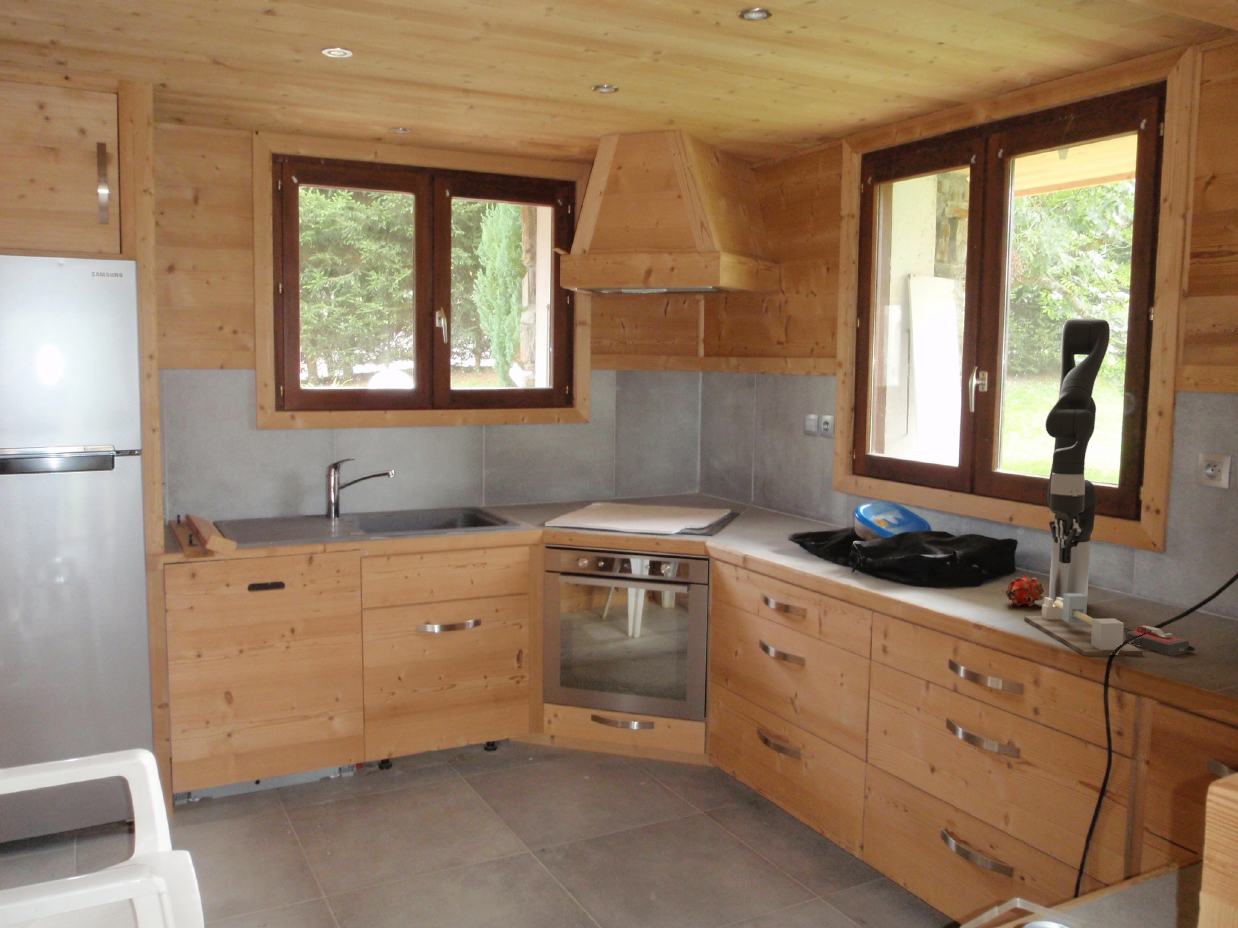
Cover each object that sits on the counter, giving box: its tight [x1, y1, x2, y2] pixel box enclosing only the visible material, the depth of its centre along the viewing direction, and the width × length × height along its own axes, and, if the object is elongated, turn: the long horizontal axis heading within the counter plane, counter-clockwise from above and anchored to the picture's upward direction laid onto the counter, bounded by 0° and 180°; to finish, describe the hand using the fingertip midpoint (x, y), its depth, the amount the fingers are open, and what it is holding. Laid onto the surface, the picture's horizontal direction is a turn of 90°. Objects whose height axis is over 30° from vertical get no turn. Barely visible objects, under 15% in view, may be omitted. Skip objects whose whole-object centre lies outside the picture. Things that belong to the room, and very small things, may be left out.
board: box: [1023, 615, 1144, 657], centre depth 233 cm, size 30×13×1 cm, turn 2°
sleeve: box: [1062, 593, 1088, 623], centre depth 236 cm, size 3×4×6 cm
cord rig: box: [1041, 596, 1125, 650], centre depth 233 cm, size 28×5×6 cm, turn 2°
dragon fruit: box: [1005, 574, 1045, 608], centre depth 263 cm, size 8×8×12 cm
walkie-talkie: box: [1124, 625, 1196, 656], centre depth 228 cm, size 9×4×20 cm
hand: (1064, 562), depth 241 cm, fingers closed
